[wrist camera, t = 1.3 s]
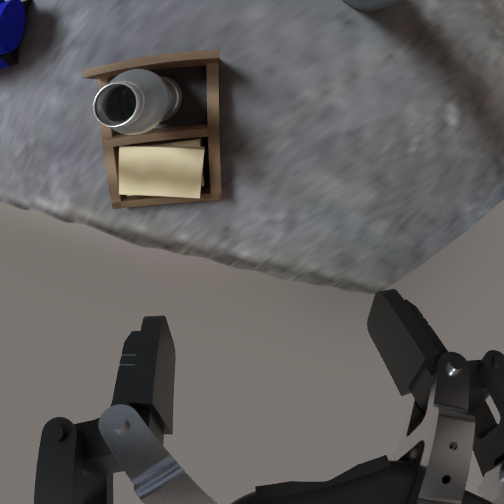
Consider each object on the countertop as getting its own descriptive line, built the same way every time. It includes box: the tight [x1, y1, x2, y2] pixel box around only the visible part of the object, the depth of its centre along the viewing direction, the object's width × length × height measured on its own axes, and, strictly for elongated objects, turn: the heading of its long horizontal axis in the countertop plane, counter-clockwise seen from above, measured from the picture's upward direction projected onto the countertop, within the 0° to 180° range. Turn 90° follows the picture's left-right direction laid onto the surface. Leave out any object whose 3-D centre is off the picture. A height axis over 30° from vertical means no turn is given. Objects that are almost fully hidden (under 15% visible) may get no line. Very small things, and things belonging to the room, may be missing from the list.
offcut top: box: [119, 144, 205, 198], centre depth 36 cm, size 6×11×2 cm, turn 82°
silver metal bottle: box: [93, 69, 182, 135], centre depth 26 cm, size 6×7×20 cm
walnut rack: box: [82, 50, 222, 209], centre depth 33 cm, size 20×16×8 cm
